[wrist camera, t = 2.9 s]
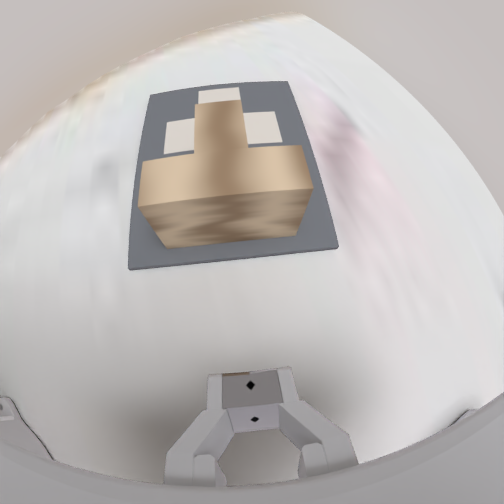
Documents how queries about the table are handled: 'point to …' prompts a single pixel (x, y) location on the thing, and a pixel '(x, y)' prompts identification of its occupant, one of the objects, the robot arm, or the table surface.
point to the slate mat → (258, 135)
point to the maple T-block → (225, 185)
